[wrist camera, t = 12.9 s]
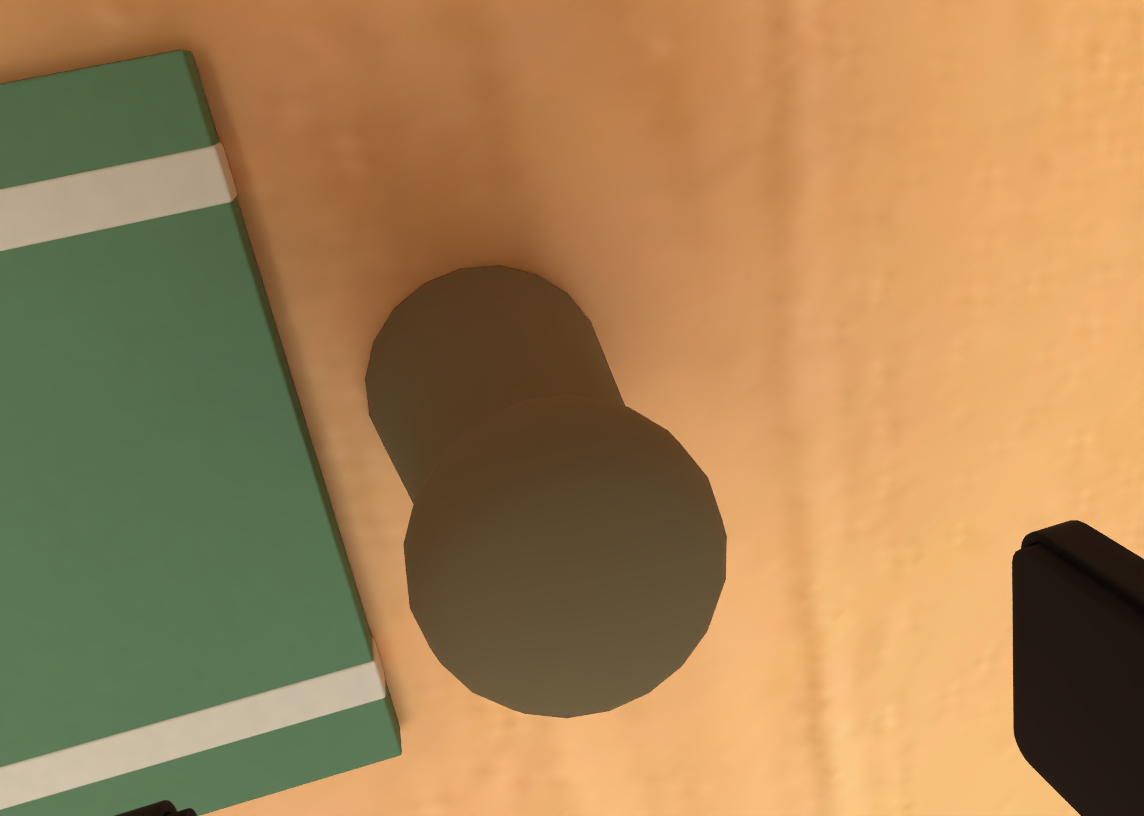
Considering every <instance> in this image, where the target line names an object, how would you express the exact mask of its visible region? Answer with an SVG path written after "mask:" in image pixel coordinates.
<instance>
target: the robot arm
mask: <svg viewBox="0 0 1144 816" xmlns="http://www.w3.org/2000/svg"><path fill="white" fill-rule="evenodd" d="M1012 591H1013V712H1014V736H1015V739H1016V742H1017V745H1018V747H1019V749H1020V751H1021V753H1022V755H1023V756H1024V758H1025V759H1026V760H1027V762H1028V763H1029V764H1030V765H1031V766H1032V767H1033V768H1034V769H1035V770H1036V771H1037V772H1038V773H1039V774H1040V775H1041V776H1042V777H1043V778H1044V779H1045V780H1046V781H1047V782H1048V783H1049V784H1050V785H1051V786H1052V787H1053V788H1054V789H1055V790H1056V791H1057V792H1058V793H1059V794H1060V795H1061V796H1062V797H1063V798H1064V799H1065V800H1066V801H1067V802H1068V803H1069V804H1070V805H1071V806H1072V807H1073V808H1074V809H1075V810H1076V811H1077V812H1078V813H1079V814H1080V815H1081V816H1144V559H1143V558H1141V557H1139V556H1138V555H1136V554H1134V553H1133V552H1131V551H1130V550H1128V549H1126V548H1125V547H1123V546H1121V545H1120V544H1118V543H1116V542H1115V541H1113V540H1112V539H1110V538H1108V537H1107V536H1105V535H1103V534H1102V533H1100V532H1099V531H1097V530H1095V529H1094V528H1092V527H1090V526H1089V525H1087V524H1085V523H1083V522H1080V521H1078V520H1070V521H1067V522H1064V523H1061V524H1057V525H1054V526H1051V527H1048V528H1044V529H1041V530H1038V531H1035V532H1032V533H1029V534H1028V535H1026V536H1025V537H1024V539H1023V541H1022V545H1021V549H1020V550H1018V551H1016V552H1015V554H1014V556H1013V561H1012ZM115 816H197V814H196V812H195V811H194V810H193V809H192V808H187V809H184V810H181V811H177V809H176V808H175V806H174V804H172V803H171V802H170V801H169V800H163V801H160V802H157V803H153V804H150V805H147V806H144V807H140V808H137V809H134V810H131V811H127V812H124V813H121V814H118V815H115Z"/></svg>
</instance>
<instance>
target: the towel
mask: <svg viewBox="0 0 1144 816" xmlns="http://www.w3.org/2000/svg"><path fill="white" fill-rule="evenodd" d="M236 196H237V190H236V187H235V183H234V180H233V177H232V174H231V170H230V167H229V164H228V161H227V157H226V154H225V151H224V148H223V145H222V143H221V142H219V139H218V136H217V133H216V130H215V126H214V123H213V120H212V117H211V113H210V110H209V107H208V104H207V100H206V97H205V94H204V91H203V87H202V84H201V81H200V78H199V74H198V71H197V68H196V65H195V61H194V58H193V55H192V53H191V52H190V51H184V50H177V51H171V52H166V53H161V54H155V55H150V56H145V57H140V58H134V59H129V60H124V61H118V62H113V63H108V64H103V65H97V66H92V67H87V68H82V69H76V70H71V71H66V72H60V73H55V74H50V75H45V76H39V77H34V78H29V79H23V80H18V81H13V82H8V83H2V84H0V816H115V815H118V814H121V813H124V812H127V811H131V810H134V809H137V808H140V807H144V806H147V805H150V804H153V803H157V802H160V801H163V800H169V801H170V802H171V803H172V804H174V806H175V808H176V809H177V811H181V810H184V809H187V808H192V809H193V810H194V811H195V812H196V814H197V816H199V815H203V814H206V813H209V812H213V811H216V810H219V809H223V808H226V807H229V806H233V805H236V804H239V803H243V802H246V801H249V800H253V799H256V798H259V797H263V796H266V795H269V794H273V793H276V792H279V791H283V790H286V789H289V788H293V787H296V786H299V785H303V784H306V783H309V782H313V781H316V780H319V779H323V778H326V777H329V776H333V775H336V774H339V773H343V772H346V771H349V770H353V769H356V768H359V767H363V766H366V765H369V764H373V763H376V762H379V761H383V760H386V759H389V758H393V757H396V756H399V755H401V753H402V749H401V737H400V727H399V723H398V720H397V717H396V714H395V710H394V707H393V704H392V701H391V697H390V694H389V691H388V688H387V684H386V681H385V676H384V668H383V665H382V662H381V659H380V655H379V652H378V649H377V646H376V642H375V639H374V638H373V637H372V636H371V632H370V629H369V626H368V623H367V619H366V616H365V613H364V610H363V607H362V603H361V600H360V597H359V594H358V590H357V587H356V584H355V581H354V577H353V574H352V571H351V568H350V564H349V561H348V558H347V555H346V551H345V548H344V545H343V542H342V538H341V535H340V532H339V529H338V525H337V522H336V519H335V516H334V512H333V509H332V506H331V503H330V499H329V496H328V493H327V490H326V486H325V483H324V480H323V477H322V473H321V470H320V467H319V464H318V461H317V457H316V454H315V451H314V448H313V444H312V441H311V438H310V435H309V431H308V428H307V425H306V422H305V418H304V415H303V412H302V409H301V405H300V402H299V399H298V396H297V392H296V389H295V386H294V383H293V379H292V376H291V373H290V370H289V366H288V363H287V360H286V357H285V353H284V350H283V347H282V344H281V340H280V337H279V334H278V331H277V327H276V324H275V321H274V318H273V314H272V311H271V308H270V305H269V302H268V298H267V295H266V292H265V289H264V285H263V282H262V279H261V276H260V272H259V269H258V266H257V263H256V259H255V256H254V253H253V250H252V246H251V243H250V240H249V237H248V233H247V230H246V227H245V224H244V220H243V217H242V214H241V211H240V207H239V204H238V201H237V198H236Z"/></svg>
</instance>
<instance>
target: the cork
mask: <svg viewBox="0 0 1144 816" xmlns="http://www.w3.org/2000/svg"><path fill="white" fill-rule="evenodd" d="M365 381H366V390H367V399H368V408H369V416H370V418H371V420H372V422H373V424H374V426H375V428H376V430H377V432H378V434H379V436H380V438H381V440H382V443H383V445H384V447H385V449H386V451H387V453H388V455H389V457H390V459H391V461H392V462H393V464H394V466H395V468H396V470H397V472H398V474H399V476H400V478H401V480H402V482H403V484H404V486H405V488H406V490H407V492H408V494H409V496H410V498H411V500H412V502H413V504H414V505H413V509H412V513H411V517H410V521H409V525H408V529H407V533H406V537H405V541H404V554H405V565H406V575H407V584H408V594H409V604H410V609H411V611H412V613H413V615H414V617H415V619H416V621H417V623H418V625H419V627H420V629H421V631H422V633H423V635H424V637H425V639H426V641H427V643H428V645H429V647H430V648H431V650H432V651H433V653H434V654H435V656H436V657H437V659H438V660H439V662H440V663H441V664H442V665H443V666H444V667H445V668H446V669H448V670H449V671H450V672H451V673H452V674H453V675H454V676H455V677H456V678H457V679H458V680H460V681H461V682H462V683H463V684H464V685H465V686H466V687H467V688H468V689H469V690H470V691H472V692H473V693H475V694H477V695H480V696H482V697H484V698H487V699H489V700H491V701H494V702H496V703H498V704H501V705H503V706H505V707H508V708H510V709H512V710H515V711H518V712H521V713H525V714H532V715H542V716H552V717H561V718H571V717H577V716H582V715H588V714H594V713H600V712H606V711H610V710H612V709H615V708H617V707H619V706H621V705H623V704H626V703H628V702H630V701H632V700H634V699H637V698H639V697H641V696H643V695H645V694H648V693H649V692H651V691H652V690H653V689H654V688H655V687H657V686H658V685H659V684H660V683H662V682H663V681H664V680H665V679H667V678H668V677H669V676H670V675H672V674H673V673H674V672H675V671H676V670H678V669H679V668H680V667H681V666H682V665H683V664H684V663H685V661H686V660H687V658H688V657H689V656H690V654H691V653H692V652H693V650H694V649H695V647H696V646H697V645H698V643H699V642H700V640H701V639H702V638H703V636H704V635H705V634H706V632H707V630H708V627H709V625H710V622H711V619H712V617H713V614H714V611H715V608H716V605H717V602H718V600H719V597H720V594H721V591H722V588H723V585H724V582H725V580H726V540H727V536H726V532H725V529H724V525H723V521H722V518H721V515H720V512H719V509H718V506H717V503H716V500H715V497H714V494H713V491H712V488H711V485H710V482H709V479H708V477H707V476H706V475H705V473H704V472H703V471H702V470H701V468H700V467H699V466H698V465H697V464H696V462H695V461H694V460H693V459H692V457H691V456H690V455H689V454H688V452H687V451H686V450H685V449H684V448H683V446H682V445H681V444H680V443H679V442H678V441H677V440H676V439H675V438H674V436H673V435H672V434H671V433H670V432H669V431H668V430H666V429H664V428H663V427H661V426H659V425H658V424H656V423H654V422H653V421H651V420H649V419H648V418H646V417H644V416H643V415H641V414H639V413H637V412H636V411H634V410H632V409H631V408H629V407H626V406H625V405H624V402H623V400H622V397H621V395H620V392H619V390H618V387H617V385H616V383H615V380H614V378H613V375H612V373H611V370H610V368H609V365H608V363H607V361H606V358H605V356H604V353H603V351H602V348H601V346H600V343H599V341H598V339H597V336H596V334H595V331H594V329H593V326H592V324H591V322H590V321H589V319H588V318H587V317H586V316H585V315H584V313H583V312H582V311H581V310H580V308H579V307H578V306H577V305H576V303H575V302H574V301H573V300H572V298H571V297H570V296H569V295H568V294H567V293H565V292H564V291H562V290H560V289H559V288H557V287H556V286H554V285H552V284H551V283H549V282H548V281H546V280H545V279H543V278H541V277H540V276H538V275H536V274H532V273H528V272H524V271H520V270H516V269H511V268H507V267H503V266H489V267H476V268H462V269H459V270H456V271H454V272H451V273H449V274H446V275H444V276H441V277H439V278H437V279H434V280H432V281H429V282H427V283H424V284H423V285H422V286H421V287H419V288H418V289H417V290H416V291H415V292H413V293H412V294H411V295H410V296H409V297H408V298H406V299H405V300H404V301H403V302H402V303H400V304H399V305H398V306H397V307H396V308H395V309H394V310H393V311H392V313H391V315H390V316H389V318H388V319H387V321H386V323H385V324H384V326H383V328H382V329H381V331H380V332H379V334H378V336H377V337H376V339H375V341H374V342H373V347H372V351H371V356H370V360H369V364H368V369H367V373H366V378H365Z"/></svg>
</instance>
